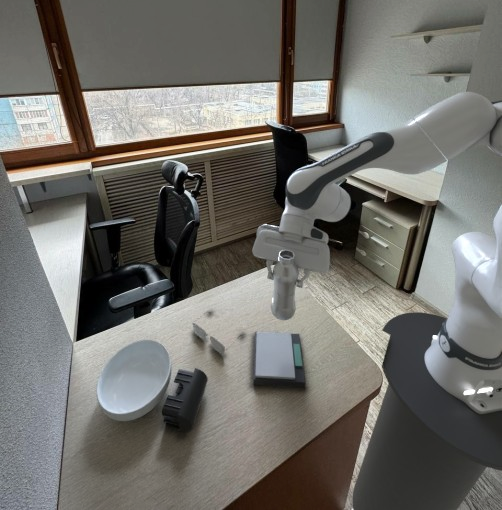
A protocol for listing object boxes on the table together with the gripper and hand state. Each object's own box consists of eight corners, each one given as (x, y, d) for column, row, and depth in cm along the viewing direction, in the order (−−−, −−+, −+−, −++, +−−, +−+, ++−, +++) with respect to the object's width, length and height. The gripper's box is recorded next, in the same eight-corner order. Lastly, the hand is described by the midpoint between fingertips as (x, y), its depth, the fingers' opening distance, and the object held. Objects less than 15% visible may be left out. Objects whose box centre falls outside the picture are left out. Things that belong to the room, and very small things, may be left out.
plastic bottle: (269, 303, 76) (271, 246, 68) (293, 303, 76) (298, 246, 68) (271, 324, 70) (273, 263, 62) (297, 324, 70) (302, 263, 62)
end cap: (193, 436, 59) (191, 419, 56) (163, 429, 60) (159, 411, 57) (208, 387, 68) (207, 370, 65) (182, 381, 69) (180, 364, 67)
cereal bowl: (169, 425, 61) (165, 407, 58) (90, 439, 58) (83, 420, 56) (177, 351, 76) (174, 334, 73) (115, 360, 74) (110, 342, 71)
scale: (298, 338, 80) (299, 331, 79) (304, 387, 68) (305, 380, 67) (255, 336, 80) (255, 329, 79) (253, 384, 68) (253, 377, 67)
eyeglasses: (191, 330, 82) (191, 320, 81) (210, 313, 88) (210, 304, 87) (225, 358, 75) (226, 347, 73) (243, 337, 81) (244, 327, 79)
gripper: (256, 219, 73) (243, 271, 69) (334, 235, 67) (325, 294, 62) (261, 225, 79) (249, 273, 74) (333, 240, 72) (325, 294, 68)
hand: (284, 283), depth 68 cm, fingers closed on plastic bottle, 6 cm apart
